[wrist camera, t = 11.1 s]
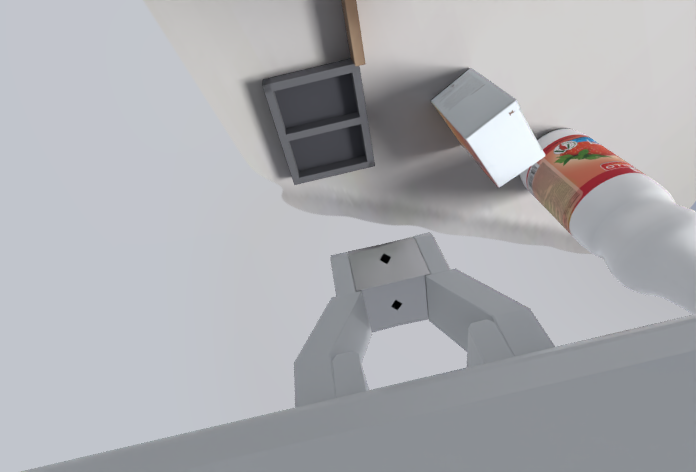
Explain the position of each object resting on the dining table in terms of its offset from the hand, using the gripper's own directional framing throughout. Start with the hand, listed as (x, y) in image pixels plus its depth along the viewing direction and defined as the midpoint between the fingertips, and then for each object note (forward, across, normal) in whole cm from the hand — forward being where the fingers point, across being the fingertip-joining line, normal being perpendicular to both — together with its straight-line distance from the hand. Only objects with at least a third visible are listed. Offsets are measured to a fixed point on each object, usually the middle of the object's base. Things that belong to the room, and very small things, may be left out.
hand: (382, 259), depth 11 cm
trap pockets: (+34, +1, +10) cm, 35 cm away
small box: (+34, -16, +12) cm, 40 cm away
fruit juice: (+34, -28, +22) cm, 50 cm away
